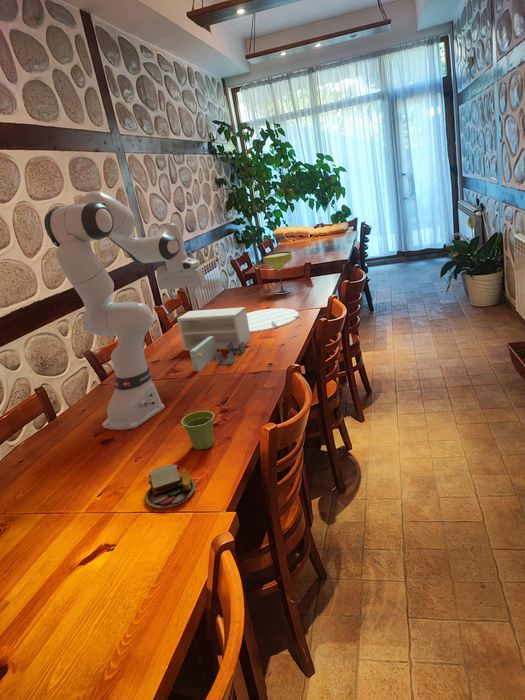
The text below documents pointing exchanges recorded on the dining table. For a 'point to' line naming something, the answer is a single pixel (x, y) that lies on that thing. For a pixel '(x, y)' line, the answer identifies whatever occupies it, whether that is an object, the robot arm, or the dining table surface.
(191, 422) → the plant pot
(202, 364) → the pale blue panel
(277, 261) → the cocktail glass
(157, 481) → the toy sandwich meal
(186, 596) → the dining table surface
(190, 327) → the cabinet
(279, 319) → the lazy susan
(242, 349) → the hinge clips
